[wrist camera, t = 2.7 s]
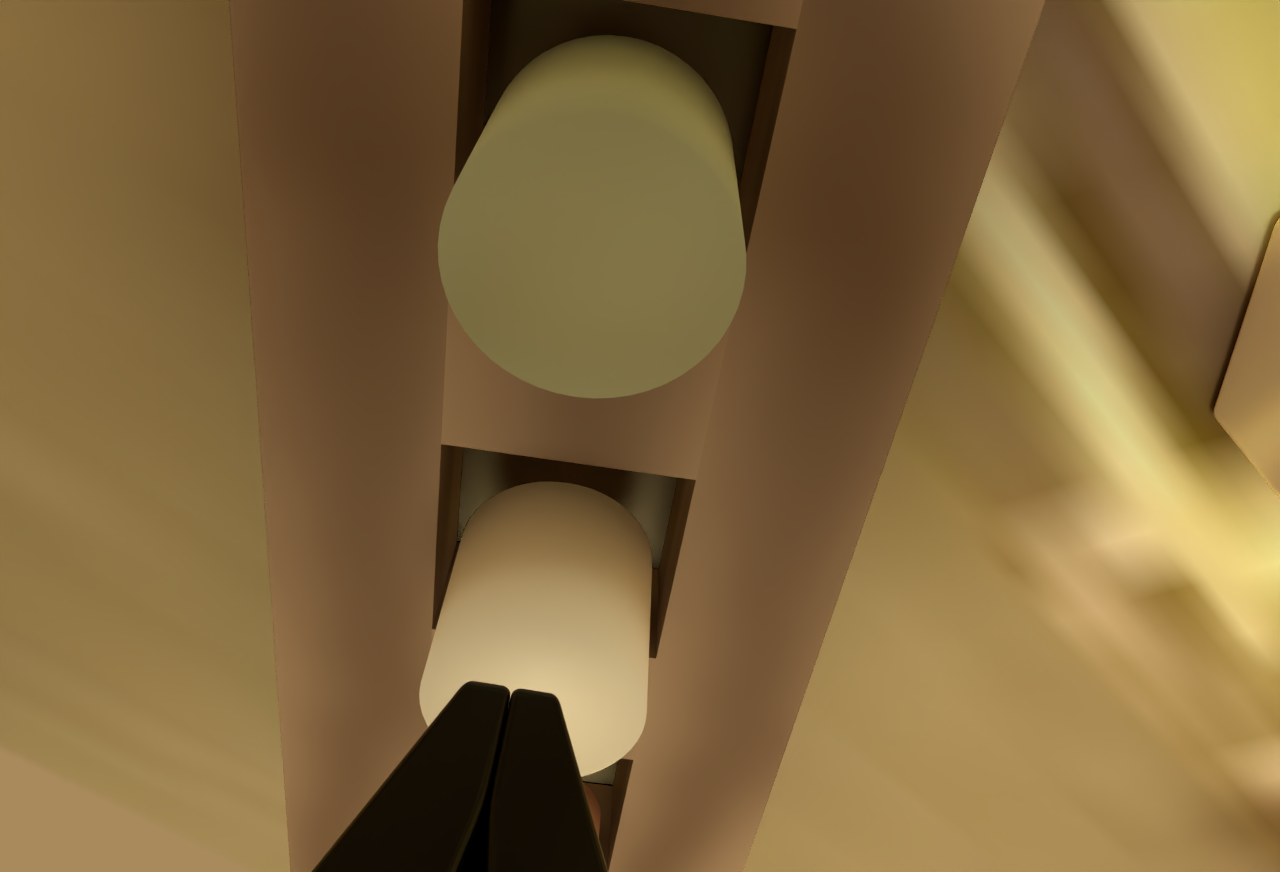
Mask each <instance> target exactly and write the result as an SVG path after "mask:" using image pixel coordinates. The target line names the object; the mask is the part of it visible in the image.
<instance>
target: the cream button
mask: <svg viewBox="0 0 1280 872" xmlns="http://www.w3.org/2000/svg"><path fill="white" fill-rule="evenodd" d="M651 584H652V552H651V547H650V543H649V540H648V538H647V535H646V533H645V531H644V530H643V528H642V526H641V525H640V523H639V522H638V521H637V520H636V518H635V517H634V516H633V515H632V514H631V513H630V512H629V511H628V510H627V509H626V508H625V507H623V506H622V505H621V504H619V503H618V502H617V501H615V500H614V499H612V498H610V497H608V496H607V495H605V494H603V493H600V492H598V491H596V490H593V489H591V488H587V487H584V486H581V485H576V484H571V483H565V482H534V483H527V484H523V485H519V486H515V487H512V488H509V489H507V490H504V491H502V492H500V493H498V494H496V495H494V496H493V497H491V498H490V499H488V500H487V501H486V502H484V503H483V504H482V505H481V506H480V507H479V508H478V509H477V510H476V511H475V512H474V514H473V515H472V516H471V517H470V519H469V521H468V523H467V524H466V526H465V529H464V532H463V535H462V538H461V541H460V545H459V548H458V552H457V556H456V559H455V563H454V566H453V570H452V573H451V577H450V580H449V584H448V588H447V591H446V595H445V598H444V602H443V605H442V609H441V612H440V616H439V620H438V623H437V627H436V630H435V634H434V637H433V641H432V644H431V648H430V652H429V655H428V659H427V662H426V666H425V669H424V673H423V676H422V680H421V684H420V691H419V700H420V707H421V711H422V715H423V717H424V719H425V721H426V724H427V725H428V727H429V725H430V724H431V723H432V722H433V721H434V719H435V718H436V717H437V716H438V714H439V713H440V712H441V711H442V709H443V708H444V707H445V706H446V704H447V703H448V702H449V701H450V700H451V698H452V697H453V696H454V695H455V693H456V692H457V691H458V690H459V689H460V687H461V686H462V685H464V684H465V683H466V682H469V681H478V682H484V683H490V684H497V685H503V686H505V687H507V688H508V689H509V691H510V697H511V694H512V692H513V691H514V690H516V689H520V688H522V689H528V690H534V691H541V692H547V693H552V694H554V695H555V696H556V697H557V698H558V700H559V702H560V705H561V708H562V712H563V715H564V719H565V722H566V726H567V729H568V733H569V736H570V740H571V743H572V747H573V750H574V754H575V757H576V761H577V764H578V768H579V771H580V775H581V777H582V776H586V775H590V774H592V773H595V772H597V771H600V770H603V769H604V768H606V767H608V766H610V765H612V764H614V763H615V762H616V761H618V760H619V759H621V758H622V757H623V756H624V755H625V754H627V753H628V752H629V751H630V750H631V749H632V747H633V746H634V745H635V744H636V742H637V741H638V739H639V737H640V735H641V734H642V732H643V729H644V725H645V722H646V715H647V693H648V666H649V639H650V611H651Z"/></svg>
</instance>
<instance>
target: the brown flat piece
mask: <svg viewBox="0 0 1280 872" xmlns="http://www.w3.org/2000/svg"><path fill="white" fill-rule="evenodd" d="M624 1H631V2H637V3H643V4H649V5H655V6H661V7H667V8H673V9H679V10H685V11H691V12H697V13H703V14H709V15H715V16H721V17H727V18H733V19H739V20H745V21H751V22H757V23H763V24H769V25H773V29H772V34H771V39H770V44H769V48H768V53H767V58H766V63H765V67H764V72H763V77H762V82H761V86H760V91H759V96H758V101H757V105H756V110H755V115H754V120H753V124H752V129H751V134H750V139H749V143H748V148H747V153H746V158H745V162H744V167H743V172H742V177H741V181H740V186H739V191H738V192H739V200H740V208H741V216H742V223H743V231H744V239H745V247H746V276H745V282H744V289H743V293H742V296H741V299H740V303H739V306H738V309H737V311H736V313H735V315H734V318H733V320H732V322H731V324H730V326H729V327H728V329H727V330H726V332H725V333H724V335H723V337H722V338H721V340H720V341H719V342H718V343H717V344H716V346H715V347H714V348H713V349H712V350H711V351H710V353H709V354H708V355H707V356H705V357H704V358H703V359H702V360H701V361H700V362H699V363H698V364H697V365H696V366H694V367H693V368H691V369H690V370H688V371H687V372H686V373H684V374H683V375H681V376H680V377H678V378H676V379H674V380H672V381H670V382H668V383H666V384H664V385H662V386H659V387H657V388H654V389H651V390H649V391H645V392H642V393H638V394H634V395H630V396H623V397H615V398H583V397H573V396H568V395H563V394H558V393H554V392H551V391H548V390H545V389H542V388H539V387H536V386H534V385H532V384H530V383H527V382H525V381H523V380H521V379H519V378H518V377H516V376H514V375H512V374H511V373H509V372H507V371H506V370H504V369H503V368H502V367H500V366H499V365H498V364H496V363H495V362H494V361H492V360H491V359H490V358H489V357H488V356H487V355H486V354H485V353H484V352H483V351H481V350H480V349H479V348H478V347H477V346H476V344H475V343H474V342H473V341H472V340H471V338H470V337H469V336H468V335H467V333H466V332H465V331H464V329H463V328H462V326H461V324H460V323H459V321H458V320H457V318H456V317H455V315H454V313H453V310H452V308H451V306H450V304H449V302H448V300H447V297H446V294H445V291H444V287H443V284H442V281H441V275H440V269H439V263H438V238H439V229H440V223H441V219H442V215H443V211H444V208H445V205H446V203H447V200H448V198H449V196H450V193H451V191H452V189H453V187H454V185H455V183H456V181H457V179H458V177H459V175H460V173H461V172H462V170H463V168H464V166H465V164H466V162H467V160H468V158H469V156H470V154H471V153H472V151H473V149H474V147H475V145H476V143H477V141H478V139H479V137H480V136H481V134H482V132H483V126H484V110H485V94H486V79H487V63H488V47H489V31H490V16H491V0H229V6H230V20H231V34H232V48H233V63H234V77H235V91H236V105H237V119H238V133H239V148H240V162H241V176H242V190H243V204H244V219H245V233H246V247H247V261H248V275H249V289H250V304H251V318H252V332H253V346H254V360H255V374H256V389H257V403H258V417H259V431H260V445H261V460H262V474H263V488H264V502H265V516H266V530H267V545H268V559H269V573H270V587H271V601H272V615H273V630H274V644H275V658H276V672H277V686H278V701H279V715H280V729H281V743H282V757H283V771H284V786H285V800H286V814H287V828H288V842H289V856H290V871H291V872H311V871H312V870H313V869H314V868H315V866H316V865H317V864H318V863H319V861H320V860H321V859H322V858H323V856H324V855H325V854H326V853H327V851H328V850H329V849H330V848H331V847H332V845H333V844H334V843H335V842H336V840H337V839H338V838H339V837H340V835H341V834H342V833H343V832H344V830H345V829H346V828H347V827H348V826H349V824H350V823H351V822H352V821H353V819H354V818H355V817H356V816H357V814H358V813H359V812H360V811H361V809H362V808H363V807H364V806H365V805H366V803H367V802H368V801H369V800H370V798H371V797H372V796H373V795H374V793H375V792H376V791H377V790H378V788H379V787H380V786H381V785H382V784H383V782H384V781H385V780H386V779H387V777H388V776H389V775H390V774H391V772H392V771H393V770H394V769H395V767H396V766H397V765H398V764H399V763H400V761H401V760H402V759H403V758H404V756H405V755H406V754H407V753H408V751H409V750H410V749H411V748H412V746H413V745H414V744H415V743H416V742H417V740H418V739H419V738H420V737H421V735H422V734H423V733H424V732H425V730H426V729H427V728H428V725H427V724H426V721H425V719H424V717H423V715H422V711H421V707H420V700H419V691H420V684H421V680H422V676H423V673H424V669H425V666H426V662H427V659H428V655H429V652H430V648H431V644H432V641H433V637H434V634H435V630H436V627H437V623H438V620H439V616H440V612H441V609H442V605H443V602H444V598H445V595H446V591H447V588H448V584H449V580H450V577H451V573H452V570H453V566H454V563H455V559H456V556H457V552H458V548H459V545H460V542H457V533H458V518H459V502H460V486H461V470H462V455H463V447H465V448H472V449H479V450H486V451H493V452H501V453H508V454H515V455H522V456H529V457H536V458H543V459H550V460H557V461H564V462H571V463H578V464H585V465H592V466H600V467H607V468H614V469H621V470H628V471H635V472H642V473H649V474H656V475H663V476H670V477H677V478H678V480H677V485H676V490H675V494H674V499H673V504H672V509H671V513H670V518H669V523H668V528H667V532H666V537H665V542H664V547H663V551H662V556H661V561H660V566H659V569H652V584H651V611H650V639H649V666H648V693H647V715H646V722H645V725H644V729H643V732H642V734H641V735H640V737H639V739H638V741H637V742H636V744H635V745H634V746H633V747H632V749H631V750H630V751H629V752H628V753H627V754H625V755H624V756H623V757H622V758H621V759H619V760H618V765H617V770H616V774H615V779H614V784H613V786H607V785H599V784H591V783H585V784H586V785H587V786H588V787H589V788H590V790H591V791H592V792H593V794H594V795H595V797H596V799H597V801H598V803H599V806H600V813H601V816H600V829H599V841H600V845H601V848H602V852H603V855H604V859H605V862H606V866H607V869H608V872H743V870H744V867H745V864H746V861H747V858H748V855H749V853H750V850H751V847H752V844H753V841H754V838H755V835H756V832H757V830H758V827H759V824H760V821H761V818H762V815H763V812H764V809H765V807H766V804H767V801H768V798H769V795H770V792H771V789H772V786H773V783H774V781H775V778H776V775H777V772H778V769H779V766H780V763H781V760H782V758H783V755H784V752H785V749H786V746H787V743H788V740H789V737H790V735H791V732H792V729H793V726H794V723H795V720H796V717H797V714H798V712H799V709H800V706H801V703H802V700H803V697H804V694H805V691H806V689H807V686H808V683H809V680H810V677H811V674H812V671H813V668H814V665H815V663H816V660H817V657H818V654H819V651H820V648H821V645H822V642H823V640H824V637H825V634H826V631H827V628H828V625H829V622H830V619H831V617H832V614H833V611H834V608H835V605H836V602H837V599H838V596H839V594H840V591H841V588H842V585H843V582H844V579H845V576H846V573H847V571H848V568H849V565H850V562H851V559H852V556H853V553H854V550H855V547H856V545H857V542H858V539H859V536H860V533H861V530H862V527H863V524H864V522H865V519H866V516H867V513H868V510H869V507H870V504H871V501H872V499H873V496H874V493H875V490H876V487H877V484H878V481H879V478H880V476H881V473H882V470H883V467H884V464H885V461H886V458H887V455H888V453H889V450H890V447H891V444H892V441H893V438H894V435H895V432H896V429H897V427H898V424H899V421H900V418H901V415H902V412H903V409H904V406H905V404H906V401H907V398H908V395H909V392H910V389H911V386H912V383H913V381H914V378H915V375H916V372H917V369H918V366H919V363H920V360H921V358H922V355H923V352H924V349H925V346H926V343H927V340H928V337H929V335H930V332H931V329H932V326H933V323H934V320H935V317H936V314H937V311H938V309H939V306H940V303H941V300H942V297H943V294H944V291H945V288H946V286H947V283H948V280H949V277H950V274H951V271H952V268H953V265H954V263H955V260H956V257H957V254H958V251H959V248H960V245H961V242H962V240H963V237H964V234H965V231H966V228H967V225H968V222H969V219H970V217H971V214H972V211H973V208H974V205H975V202H976V199H977V196H978V193H979V191H980V188H981V185H982V182H983V179H984V176H985V173H986V170H987V168H988V165H989V162H990V159H991V156H992V153H993V150H994V147H995V145H996V142H997V139H998V136H999V133H1000V130H1001V127H1002V124H1003V122H1004V119H1005V116H1006V113H1007V110H1008V107H1009V104H1010V101H1011V99H1012V96H1013V93H1014V90H1015V87H1016V84H1017V81H1018V78H1019V75H1020V73H1021V70H1022V67H1023V64H1024V61H1025V58H1026V55H1027V52H1028V50H1029V47H1030V44H1031V41H1032V38H1033V35H1034V32H1035V29H1036V27H1037V24H1038V21H1039V18H1040V15H1041V12H1042V9H1043V6H1044V4H1045V1H1046V0H624Z"/></svg>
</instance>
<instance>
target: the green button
mask: <svg viewBox="0 0 1280 872" xmlns="http://www.w3.org/2000/svg"><path fill="white" fill-rule="evenodd" d="M438 263H439V269H440V275H441V281H442V284H443V287H444V291H445V294H446V297H447V300H448V302H449V304H450V306H451V308H452V310H453V313H454V315H455V317H456V318H457V320H458V321H459V323H460V324H461V326H462V328H463V329H464V331H465V332H466V333H467V335H468V336H469V337H470V338H471V340H472V341H473V342H474V343H475V344H476V346H477V347H478V348H479V349H480V350H481V351H483V352H484V353H485V354H486V355H487V356H488V357H489V358H490V359H491V360H492V361H494V362H495V363H496V364H498V365H499V366H500V367H502V368H503V369H504V370H506V371H507V372H509V373H511V374H512V375H514V376H516V377H518V378H519V379H521V380H523V381H525V382H527V383H530V384H532V385H534V386H536V387H539V388H542V389H545V390H548V391H551V392H554V393H558V394H563V395H568V396H573V397H583V398H615V397H623V396H630V395H634V394H638V393H642V392H645V391H649V390H651V389H654V388H657V387H659V386H662V385H664V384H666V383H668V382H670V381H672V380H674V379H676V378H678V377H680V376H681V375H683V374H684V373H686V372H687V371H688V370H690V369H691V368H693V367H694V366H696V365H697V364H698V363H699V362H700V361H701V360H702V359H703V358H704V357H705V356H707V355H708V354H709V353H710V351H711V350H712V349H713V348H714V347H715V346H716V344H717V343H718V342H719V341H720V340H721V338H722V337H723V335H724V333H725V332H726V330H727V329H728V327H729V326H730V324H731V322H732V320H733V318H734V315H735V313H736V311H737V309H738V306H739V303H740V299H741V296H742V293H743V289H744V282H745V276H746V247H745V239H744V231H743V223H742V216H741V208H740V200H739V192H738V184H737V177H736V169H735V161H734V153H733V146H732V138H731V133H730V130H729V126H728V122H727V119H726V117H725V114H724V112H723V110H722V107H721V105H720V103H719V101H718V100H717V98H716V96H715V95H714V93H713V91H712V90H711V89H710V87H709V86H708V85H707V83H706V82H705V81H704V80H703V78H702V77H701V76H700V75H699V74H698V73H697V72H696V71H695V70H694V69H693V68H692V67H691V66H689V65H688V64H687V63H686V62H684V61H683V60H681V59H680V58H679V57H677V56H676V55H674V54H673V53H671V52H669V51H667V50H665V49H663V48H662V47H660V46H657V45H654V44H652V43H649V42H647V41H644V40H640V39H635V38H631V37H627V36H616V35H597V36H588V37H583V38H577V39H574V40H571V41H568V42H565V43H562V44H559V45H557V46H555V47H553V48H551V49H549V50H547V51H545V52H543V53H542V54H541V55H539V56H538V57H536V58H535V59H533V60H532V61H530V62H529V63H528V64H527V65H526V66H525V67H524V68H523V69H522V70H521V71H520V72H519V73H518V74H517V75H516V76H515V77H514V79H513V80H512V81H511V82H510V84H509V85H508V86H507V88H506V90H505V91H504V93H503V95H502V96H501V98H500V100H499V101H498V103H497V105H496V107H495V109H494V111H493V113H492V115H491V117H490V118H489V120H488V122H487V124H486V126H485V128H484V130H483V132H482V134H481V136H480V137H479V139H478V141H477V143H476V145H475V147H474V149H473V151H472V153H471V154H470V156H469V158H468V160H467V162H466V164H465V166H464V168H463V170H462V172H461V173H460V175H459V177H458V179H457V181H456V183H455V185H454V187H453V189H452V191H451V193H450V196H449V198H448V200H447V203H446V205H445V208H444V211H443V215H442V219H441V223H440V229H439V238H438Z"/></svg>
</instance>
